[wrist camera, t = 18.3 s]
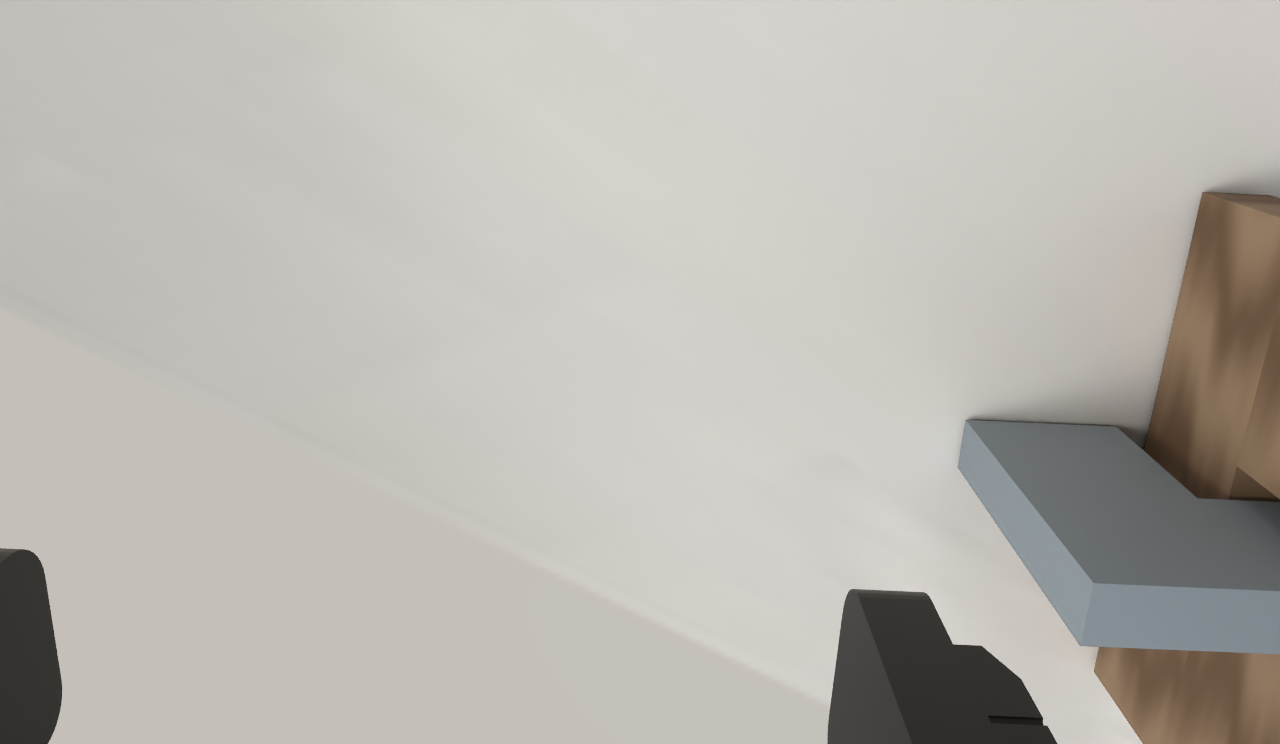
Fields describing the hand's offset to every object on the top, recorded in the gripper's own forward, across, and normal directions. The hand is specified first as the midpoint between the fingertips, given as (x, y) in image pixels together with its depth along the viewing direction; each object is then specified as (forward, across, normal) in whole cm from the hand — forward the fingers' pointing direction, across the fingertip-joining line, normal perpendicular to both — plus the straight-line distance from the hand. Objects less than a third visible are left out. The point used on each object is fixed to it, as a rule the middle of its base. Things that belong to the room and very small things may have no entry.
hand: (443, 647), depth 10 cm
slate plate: (+28, -23, +9) cm, 37 cm away
